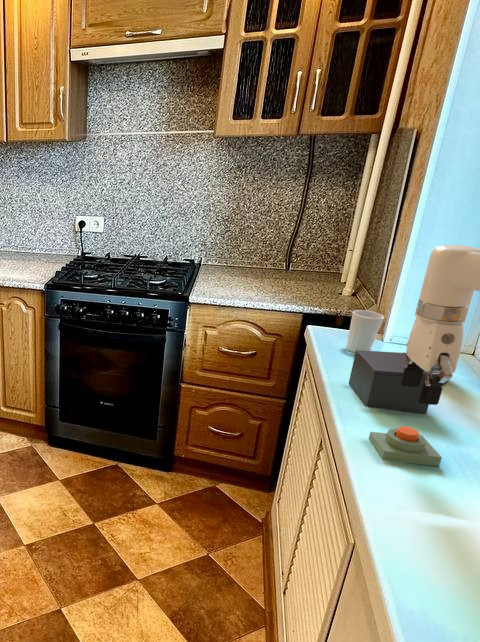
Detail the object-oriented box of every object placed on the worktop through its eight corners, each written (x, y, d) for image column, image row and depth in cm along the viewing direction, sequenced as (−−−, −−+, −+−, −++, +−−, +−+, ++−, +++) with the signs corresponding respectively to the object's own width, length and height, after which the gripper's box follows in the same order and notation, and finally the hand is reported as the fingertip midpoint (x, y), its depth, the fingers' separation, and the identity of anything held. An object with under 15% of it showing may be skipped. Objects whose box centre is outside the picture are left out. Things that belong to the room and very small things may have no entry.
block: (421, 445, 113) (425, 429, 112) (439, 466, 106) (444, 449, 105) (368, 440, 116) (372, 424, 114) (382, 460, 109) (386, 443, 107)
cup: (378, 356, 159) (390, 319, 155) (352, 355, 159) (363, 318, 155) (362, 345, 167) (373, 310, 162) (336, 345, 167) (347, 309, 162)
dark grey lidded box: (402, 389, 138) (411, 356, 135) (426, 414, 126) (436, 378, 123) (348, 385, 141) (355, 353, 138) (366, 408, 129) (374, 374, 126)
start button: (412, 434, 111) (414, 427, 110) (420, 443, 107) (422, 436, 107) (392, 432, 112) (394, 425, 111) (399, 441, 108) (401, 434, 108)
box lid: (414, 356, 135) (419, 338, 133) (440, 378, 122) (446, 358, 121) (355, 352, 138) (358, 335, 136) (374, 373, 126) (378, 354, 124)
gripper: (491, 327, 91) (462, 417, 97) (442, 299, 107) (420, 378, 113) (440, 324, 93) (415, 412, 99) (399, 297, 109) (380, 375, 115)
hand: (418, 393), depth 106 cm, fingers open, 7 cm apart
